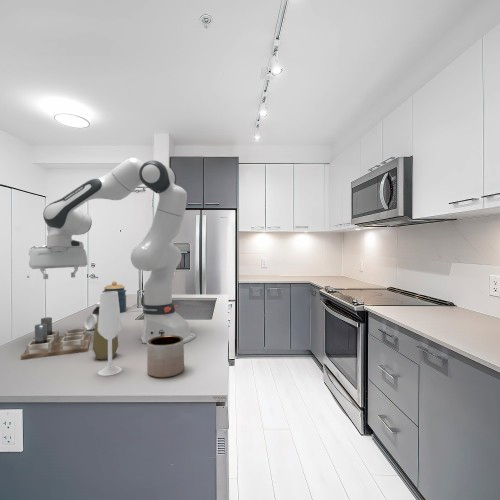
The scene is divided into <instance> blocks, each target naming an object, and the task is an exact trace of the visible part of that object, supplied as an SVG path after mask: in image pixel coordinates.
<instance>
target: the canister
mask: <svg viewBox="0 0 500 500" xmlns="http://www.w3.org/2000/svg"><path fill="white" fill-rule="evenodd" d="M117 283H118V282H117V281H112V282H111V284H107V285H106V286H104V287H103V289H104V290H103V291H102V292H111V291H115V292H118V299H119V308H120V314H121V313H125V312H126V311H127V308H128V306H127V295H126V293H127V290H126V289H125V286H124V285H123V284H119V283H118V284H117Z"/></svg>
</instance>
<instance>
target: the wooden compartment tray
mask: <svg viewBox="0 0 500 500" xmlns="http://www.w3.org/2000/svg"><path fill="white" fill-rule="evenodd" d="M40 324H47V343H43V344H35V335H34V336H33V339H31V340H30V341H29V342H28V343H27V345H26V347H25V351H23V353H21V355H20V360H29V359H37V358H45V357H46V358H47V357H52V356H53V357H54V356H61V355H70V354H77V353H78V354H79V353H87V352H89V351H88V350H89V346H90V343H91V342H90V341H91V337H92V335H91V333H89V334H88V332H87V331H88V330H87V328H85V327H84V328H83V327H82V328H72V329H66V331H65V332H64V336H61V337H60V331H59V330H53V318H52V317H51V316H50V317H43V318H40Z"/></svg>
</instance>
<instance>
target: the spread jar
mask: <svg viewBox="0 0 500 500" xmlns="http://www.w3.org/2000/svg"><path fill="white" fill-rule="evenodd" d="M99 307H100V301H99V302H96V307H95V308H94V309H93V311H92V314H89V315H88V316H87V317H86V318H85V321H84V328H87V331H92V330H94V329H95V324H96V323H97V322H98V316H99Z"/></svg>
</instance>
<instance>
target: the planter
mask: <svg viewBox="0 0 500 500" xmlns="http://www.w3.org/2000/svg"><path fill="white" fill-rule="evenodd" d="M146 347H147V349H146V351H147V353H146V355H147V356H146V359H147V363H146V364H147V365H146V370H147V374H148V375H149V376H151V377H153V378H159V379H165V378H172V377H175V376H178V375H180V374H181V373H182V372H184V369H185V348H184V347H185V343H184V339H183V338H182V337H180V336H175V335H166V336H158V337H154V338H152V339H150V340H148V341H147V343H146Z"/></svg>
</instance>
